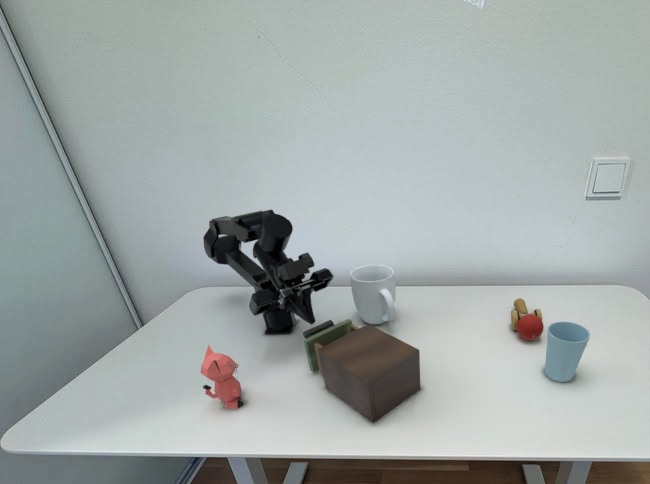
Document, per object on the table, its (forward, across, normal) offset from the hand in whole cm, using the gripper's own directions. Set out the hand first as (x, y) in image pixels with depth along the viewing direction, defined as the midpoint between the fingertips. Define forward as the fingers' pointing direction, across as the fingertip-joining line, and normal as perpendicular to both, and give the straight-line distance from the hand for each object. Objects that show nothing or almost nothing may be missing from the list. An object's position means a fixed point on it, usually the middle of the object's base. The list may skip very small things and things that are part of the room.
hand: (313, 323), depth 81 cm
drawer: (+12, 0, -2) cm, 12 cm away
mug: (+5, +19, +6) cm, 21 cm away
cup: (+37, +29, -25) cm, 54 cm away
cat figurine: (+7, -21, +5) cm, 23 cm away
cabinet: (+19, 0, -8) cm, 20 cm away
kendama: (+26, +42, -14) cm, 51 cm away
